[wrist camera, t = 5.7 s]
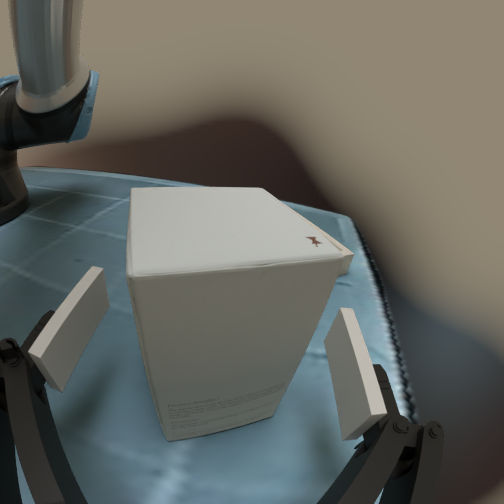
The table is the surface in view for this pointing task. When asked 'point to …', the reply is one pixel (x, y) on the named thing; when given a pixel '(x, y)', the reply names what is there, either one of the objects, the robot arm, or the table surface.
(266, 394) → the supplement box
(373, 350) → the table surface
